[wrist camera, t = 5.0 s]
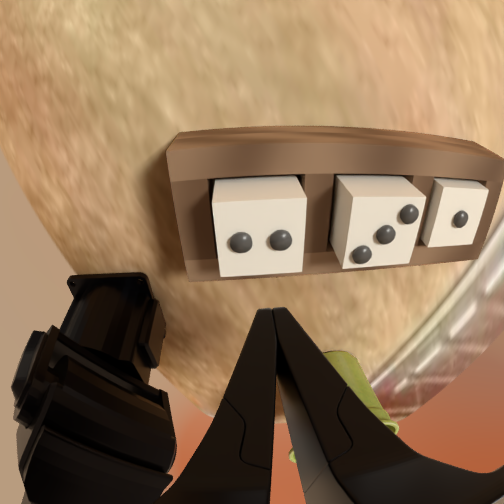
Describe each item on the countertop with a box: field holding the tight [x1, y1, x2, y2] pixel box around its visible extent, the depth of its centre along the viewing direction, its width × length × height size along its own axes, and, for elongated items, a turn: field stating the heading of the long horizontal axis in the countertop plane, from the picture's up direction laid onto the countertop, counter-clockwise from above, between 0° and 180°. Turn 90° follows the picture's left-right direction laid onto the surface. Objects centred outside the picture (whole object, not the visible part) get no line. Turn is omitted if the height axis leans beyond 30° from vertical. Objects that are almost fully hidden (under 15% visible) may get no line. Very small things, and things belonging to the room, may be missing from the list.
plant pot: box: [289, 351, 399, 463], centre depth 24 cm, size 9×9×9 cm
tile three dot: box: [329, 175, 426, 269], centre depth 14 cm, size 4×4×3 cm
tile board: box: [166, 126, 504, 282], centre depth 16 cm, size 18×7×4 cm, turn 92°
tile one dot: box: [420, 176, 489, 247], centre depth 15 cm, size 4×4×3 cm
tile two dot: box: [212, 175, 307, 277], centre depth 13 cm, size 4×4×3 cm
